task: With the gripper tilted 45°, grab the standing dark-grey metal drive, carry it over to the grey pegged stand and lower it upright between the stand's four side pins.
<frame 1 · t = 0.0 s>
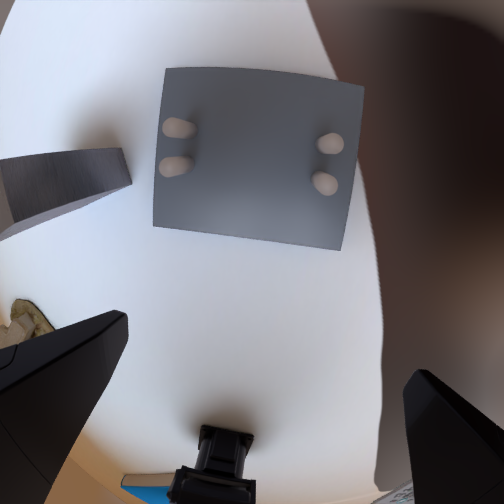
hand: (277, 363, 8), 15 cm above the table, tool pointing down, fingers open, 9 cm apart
grey pegged stand: (255, 152, 20), on the table
ceramic model: (48, 344, 30), on the table
drive: (99, 178, 21), on the table
book: (193, 497, 42), on the table
office telephone: (406, 497, 40), on the table
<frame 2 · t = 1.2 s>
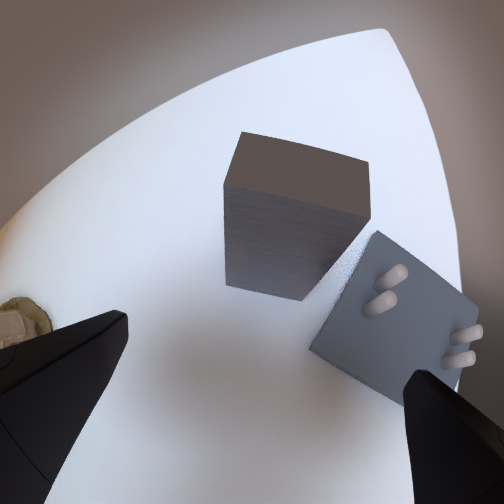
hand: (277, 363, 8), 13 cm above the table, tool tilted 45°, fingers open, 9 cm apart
grey pegged stand: (407, 330, 22), on the table
ceramic model: (22, 376, 17), on the table
drive: (267, 274, 23), on the table
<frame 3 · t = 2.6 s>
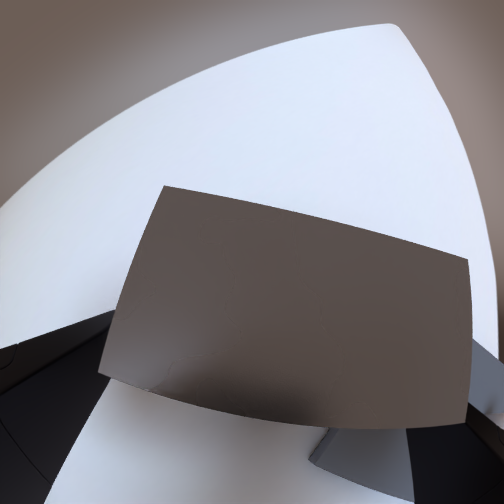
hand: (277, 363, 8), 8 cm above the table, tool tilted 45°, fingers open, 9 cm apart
grey pegged stand: (435, 417, 14), on the table
drive: (255, 363, 15), on the table
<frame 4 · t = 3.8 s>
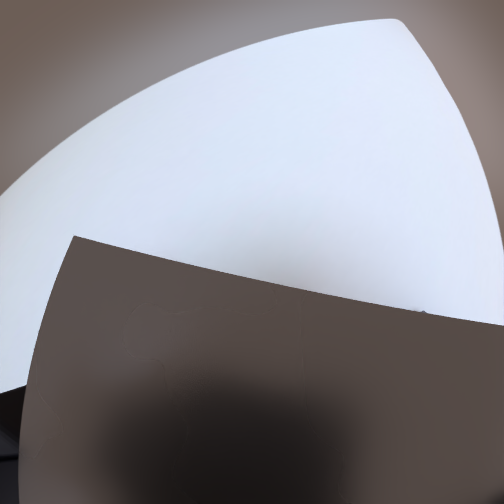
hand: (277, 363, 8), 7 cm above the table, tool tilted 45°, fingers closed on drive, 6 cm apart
drive: (250, 395, 13), on the table, touching gripper
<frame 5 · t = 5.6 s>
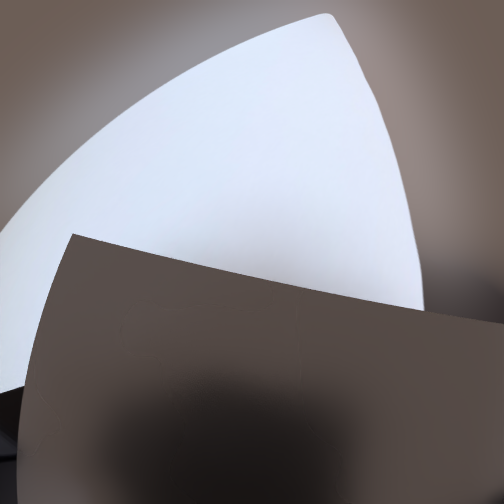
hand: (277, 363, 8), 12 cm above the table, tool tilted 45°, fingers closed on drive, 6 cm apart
drive: (250, 395, 13), point 6 cm above the table, touching gripper
when the fingers open (9 cm above the table, at t = 7.5 s): drive drops 1 cm, resting on grey pegged stand.
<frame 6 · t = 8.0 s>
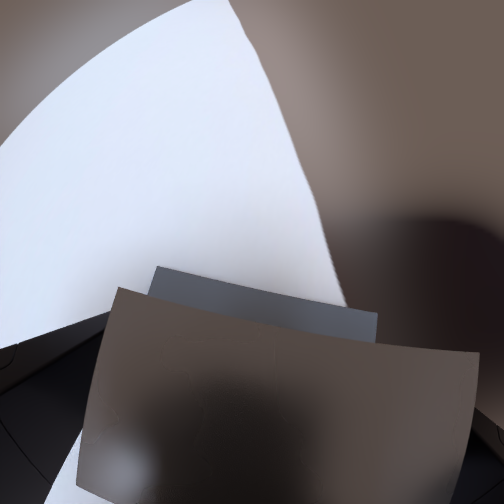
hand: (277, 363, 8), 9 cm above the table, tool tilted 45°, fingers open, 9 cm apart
grey pegged stand: (247, 392, 15), on the table
drive: (249, 393, 14), point 1 cm above the table, touching grey pegged stand
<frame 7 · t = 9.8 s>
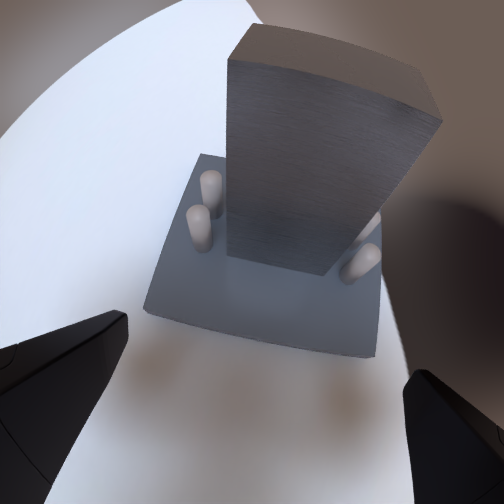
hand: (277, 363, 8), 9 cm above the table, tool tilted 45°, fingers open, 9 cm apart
grey pegged stand: (277, 251, 19), on the table
drive: (280, 243, 18), point 1 cm above the table, touching grey pegged stand
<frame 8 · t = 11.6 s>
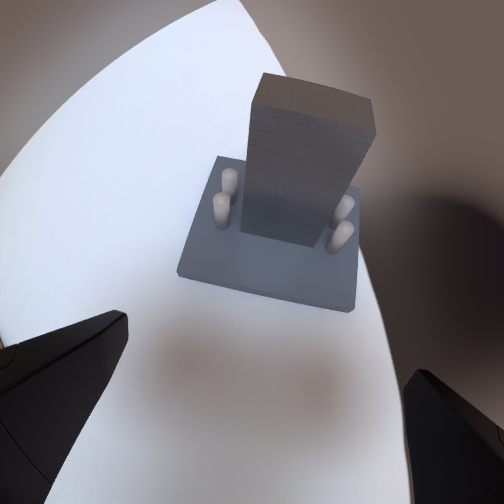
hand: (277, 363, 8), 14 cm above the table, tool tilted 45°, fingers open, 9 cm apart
grey pegged stand: (277, 230, 25), on the table
drive: (280, 223, 24), point 1 cm above the table, touching grey pegged stand
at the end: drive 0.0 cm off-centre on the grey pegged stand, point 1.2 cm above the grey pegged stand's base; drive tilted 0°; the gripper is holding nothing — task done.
